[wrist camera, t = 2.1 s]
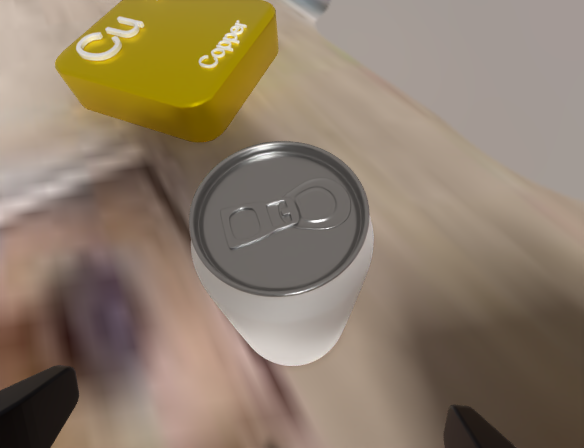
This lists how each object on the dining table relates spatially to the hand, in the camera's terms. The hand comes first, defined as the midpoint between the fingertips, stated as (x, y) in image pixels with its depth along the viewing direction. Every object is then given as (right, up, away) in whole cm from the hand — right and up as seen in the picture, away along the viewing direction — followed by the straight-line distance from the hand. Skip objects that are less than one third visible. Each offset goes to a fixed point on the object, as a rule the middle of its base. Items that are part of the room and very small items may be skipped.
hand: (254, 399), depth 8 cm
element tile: (-10, +19, +25) cm, 33 cm away
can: (+1, -1, +13) cm, 13 cm away
